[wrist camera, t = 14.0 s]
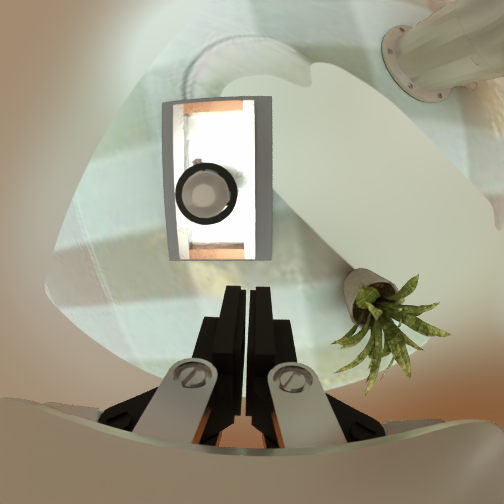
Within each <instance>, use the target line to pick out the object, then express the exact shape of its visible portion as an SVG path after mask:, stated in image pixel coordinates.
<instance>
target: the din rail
mask: <svg viewBox="0 0 504 504" xmlns="http://www.w3.org/2000/svg"><path fill="white" fill-rule="evenodd" d="M195 158H199V159H200V160H201V161H202V163H205V162H209V163H215V164H218V165H220V166H222V167H224V168H225V169H227V170H228V171H229V172H230V173H231V175H232V176H233V178H234V179H235V182H236V184H237V189H238V198H237V203H236V205H235V208H234V210H233V211H232V213H231V214H230V215H229V216H228V217H227V218H226V219H225V220H223V221H221V222H219V223H217V224H213V225H200V224H196V223H194V222H192V221H190V220H188V219H187V218H186V217H185V216H184V215H183V214H182V213H181V212H180V210H179V208H178V206H177V203H176V199H175V205H176V220H177V233H178V245H179V256H180V259H255V138H254V100H231V101H211V102H198V103H187V104H178V105H173V159H174V186H175V188H176V184H177V182H178V179H179V178H180V176H181V175H182V173H183V172H184V171H185V170H187V169H188V168H189V167H191V166H193V164H192V163H191V161H192V160H194V159H195ZM196 164H198V161H197V162H196ZM196 173H197V172H196ZM227 206H228V205H227ZM227 206H226V207H227ZM226 207H225V208H226ZM225 208H224V209H225ZM224 209H223V210H224ZM223 210H222V211H223Z"/></svg>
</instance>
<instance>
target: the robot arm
mask: <svg viewBox="0 0 504 504" xmlns="http://www.w3.org/2000/svg"><path fill="white" fill-rule="evenodd" d="M382 54H383V58H384V62H385V64H386V66H387V69H388V70H389V72H390V74H391V75H392V77H393V78H394V80H395V81H396V82H397V84H398V85H399V86H400V87H401V88H402V89H403V90H404V91H406V92H407V93H408V94H409V95H411V96H412V97H414V98H416V99H418V100H420V101H423V102H427V103H436V102H440V101H442V100H444V99H446V98H447V97H448V96H449V94H450V93H451V91H452V87H456V86H464V87H466V88H468V89H470V90H472V91H475V90H476V88H477V83H476V82H478V81H483V80H488V79H493V78H498V77H504V0H455V1H453V2H452V3H450V4H448V5H447V6H445V7H443V8H442V9H440V10H439V11H437V12H435V13H434V14H432V15H431V16H429V17H428V18H426V19H425V20H423V21H422V22H420V23H419V24H417V25H416V26H414V27H411V26H403V25H402V26H397V27H394V28H392V29H391V30H390V31H388V32H387V34H386V35H385V36H384V39H383V41H382ZM245 315H246V290H241V286H226V290H225V294H224V299H223V303H222V308H221V312H220V317H204V319H203V322H202V326H201V329H200V332H199V335H198V339H197V342H196V345H195V349H194V352H193V355H192V358H188V359H184V360H181V361H178V362H177V363H175V364H173V366H172V367H171V368H170V369H169V371H168V372H167V374H166V376H165V377H164V379H163V381H162V382H161V384H160V386H159V387H156V388H154V389H152V390H150V391H147V392H145V393H143V394H141V395H138V396H136V397H134V398H131V399H129V400H126V401H124V402H122V403H119V404H117V405H114V406H112V407H110V408H108V409H106V410H105V411H100V409H99V408H94V407H84V406H74V405H67V404H61V403H55V402H48V403H45V404H41V403H37V402H34V401H30V400H25V399H19V398H6V397H5V398H0V504H504V430H503V429H502V428H501V427H500V426H499V425H497V424H496V423H493V422H491V421H486V420H457V421H449V422H445V421H443V420H441V419H427V420H406V421H386V423H385V424H380V423H379V422H378V421H377V420H375V419H373V418H371V417H370V416H368V415H366V414H364V413H361V412H360V411H358V410H356V409H354V408H352V407H350V406H349V405H346V404H345V403H343V402H341V401H339V400H337V399H336V398H334V397H332V396H330V395H328V394H327V393H325V392H324V390H323V387H322V385H321V383H320V381H319V378H318V376H317V374H316V373H315V372H314V370H312V369H311V368H310V367H309V366H306V365H304V364H301V363H297V358H296V352H295V346H294V340H293V335H292V329H291V323H290V320H274V319H273V315H272V304H271V292H270V287H256V290H250V308H249V327H248V346H247V378H246V416H252V425H253V426H254V427H255V428H257V429H258V430H259V431H260V432H262V441H263V446H264V449H252V448H251V449H250V448H231V447H219V444H220V441H221V438H222V430H224V429H225V428H227V427H228V426H230V425H231V424H234V417H235V415H237V416H240V415H241V401H242V385H243V369H244V354H245Z"/></svg>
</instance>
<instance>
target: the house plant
mask: <svg viewBox="0 0 504 504" xmlns="http://www.w3.org/2000/svg"><path fill="white" fill-rule="evenodd" d="M418 276H419V275H418ZM418 276H415V277H413V278H411V279H410V280H409V281H408V282H407V283H406V284H405V285H404V286H403V287H402V289H401V290H400V291H398V288H397V287H396V286H395V285H394V284H393V283H392V282H390V281H388V280H386V279H385V278H383V277H381V276H379V275H377V274H376V273H374V272H372V271H370V270H368V269H363V268H359V269H355V270H354V271H352V272H351V273H350V274H348V276H347V277H346V278H345V280H344V283H343V292H344V296H345V299H346V303H347V307H348V310H349V314H350V317H351V320H352V322H353V323H354V324H355V325H354V326H353V328H352V329H351V330H350V331H349V332H348V333H347V334H346V335H345V336H344V337H342V338H341V339H339V340H337V341H335V342H333V343H332V344H337V343H338V344H340V345H343V347H342V348H349V347H352V346H354V345H356V344H358V343H359V342H360V341H361V340H362V339H363V337H364V336H365V335H366V333H367V332H368V330H369V329H371V337H370V339H369V342H368V344H367V346H366V347H365V349H364V350H363V351H362V352H361V353H360V354H359V355H358V357H357V358H356V359H355V360H354V361H353V362H351V363H350V364H349V365H347V366H345V367H343V368H341V369H339V370H338V371H336V372H335V373H338V372H341V371H345V370H348V369H351V368H353V367H355V366H356V365H358V364H359V363H361V362H362V361H363V360H364V359H365V358H366V356H367V355H369V358H371V357H372V358H371V362H370V365H369V368H370V367H371V369H370V374H369V376H368V378H367V381H368V380H369V384H368V386H367V389H366V392H365V395H366V394H367V393H368V391H369V390H370V389H371V387H372V385H373V383H374V381H375V379H376V377H377V374H378V370H379V366H380V362H381V357H384V356H387V355H389V354H390V353H391V352H392V354H393V358H392V360H391V362H390V364H389V366H388V367H387V369H386V371H387V370H388V369H389V368H390V366H391V364H392V363H393V360H394V358H395V360H396V361H397V363H398V364H399V365H400V367H401V368H402V370H403V371H404V372H405V373H406V375H407V376H408V377H409V378H410V377H411V365H410V359H409V356H408V352H407V349H406V345H405V344H408V345H410V346H412V347H414V348H415V349H418V350H423V349H422V348H420V347H419V346H418V345H417V344H415V343H414V342H413V341H412V340H410V339H409V338H408V337H407V336H406V335H405V334H404V333H403V332H402V331H401V330H400V329H399V328H398V327H400V326H401V323H403V324H405V325H407V326H408V327H410V328H411V329H413V330H415V331H417V332H419V333H421V334H423V335H425V336H439V337H446V336H449V335H450V334H449V333H447V332H445V331H443V330H440V329H438V328H436V327H434V326H432V325H429V324H427V323H425V322H424V321H422V320H421V319H419V318H417V317H416V316H418V315H420V314H422V313H423V312H426V311H429V310H431V309H433V308H434V307H435V306H436V305H438V304H439V303H434V304H431V305H421V306H412V305H401V304H402V303H403V302H404V301H405V299H404V298H405V297H406V296H408V295H409V294H410V293H412V292H413V291H414V290H415V288H416V286H417V282H418ZM391 318H393V319H395V320H396V321H399V325H398V327H397V326H396V325H395V324H394V322H393V320H392V319H391ZM381 326H382V327H381ZM357 327H359V328H361V330H360V331H359V332H358V333H357V334H356V335H354V336H352V335H353V334H354V333H355V331H356V329H357ZM382 329H383V332H384V338H385V342H384V349H383V352H382ZM351 336H352V337H351ZM341 342H342V343H341ZM386 371H385V372H384V374H385V373H386ZM384 374H383V376H384ZM383 376H382V377H383Z"/></svg>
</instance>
